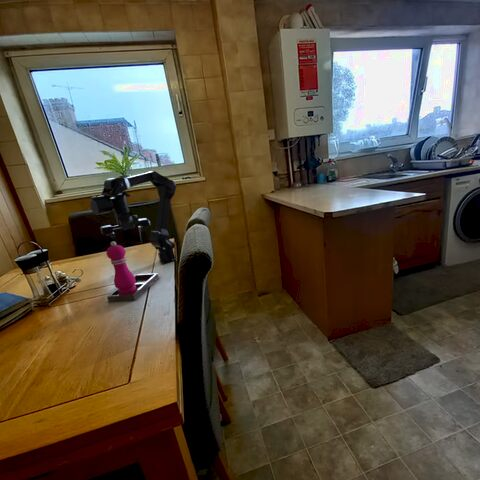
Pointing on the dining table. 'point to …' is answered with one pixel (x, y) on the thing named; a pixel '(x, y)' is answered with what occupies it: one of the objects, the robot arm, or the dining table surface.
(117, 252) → the pepper mill
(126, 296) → the stand
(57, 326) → the dining table surface
